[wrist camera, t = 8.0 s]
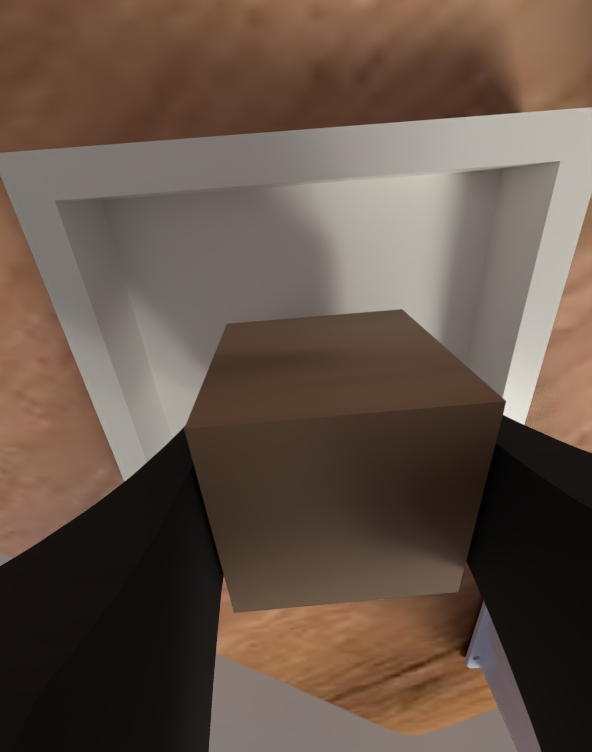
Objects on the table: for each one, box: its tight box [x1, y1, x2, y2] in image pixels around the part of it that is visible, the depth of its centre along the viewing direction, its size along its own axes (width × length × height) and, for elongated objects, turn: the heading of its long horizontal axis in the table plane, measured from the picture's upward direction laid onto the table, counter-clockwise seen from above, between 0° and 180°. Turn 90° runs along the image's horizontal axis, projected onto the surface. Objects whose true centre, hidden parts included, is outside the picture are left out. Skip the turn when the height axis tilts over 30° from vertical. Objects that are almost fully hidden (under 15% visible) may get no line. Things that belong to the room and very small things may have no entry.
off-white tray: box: [0, 107, 592, 482], centre depth 12 cm, size 14×14×3 cm
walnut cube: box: [184, 309, 506, 613], centre depth 9 cm, size 5×5×5 cm
